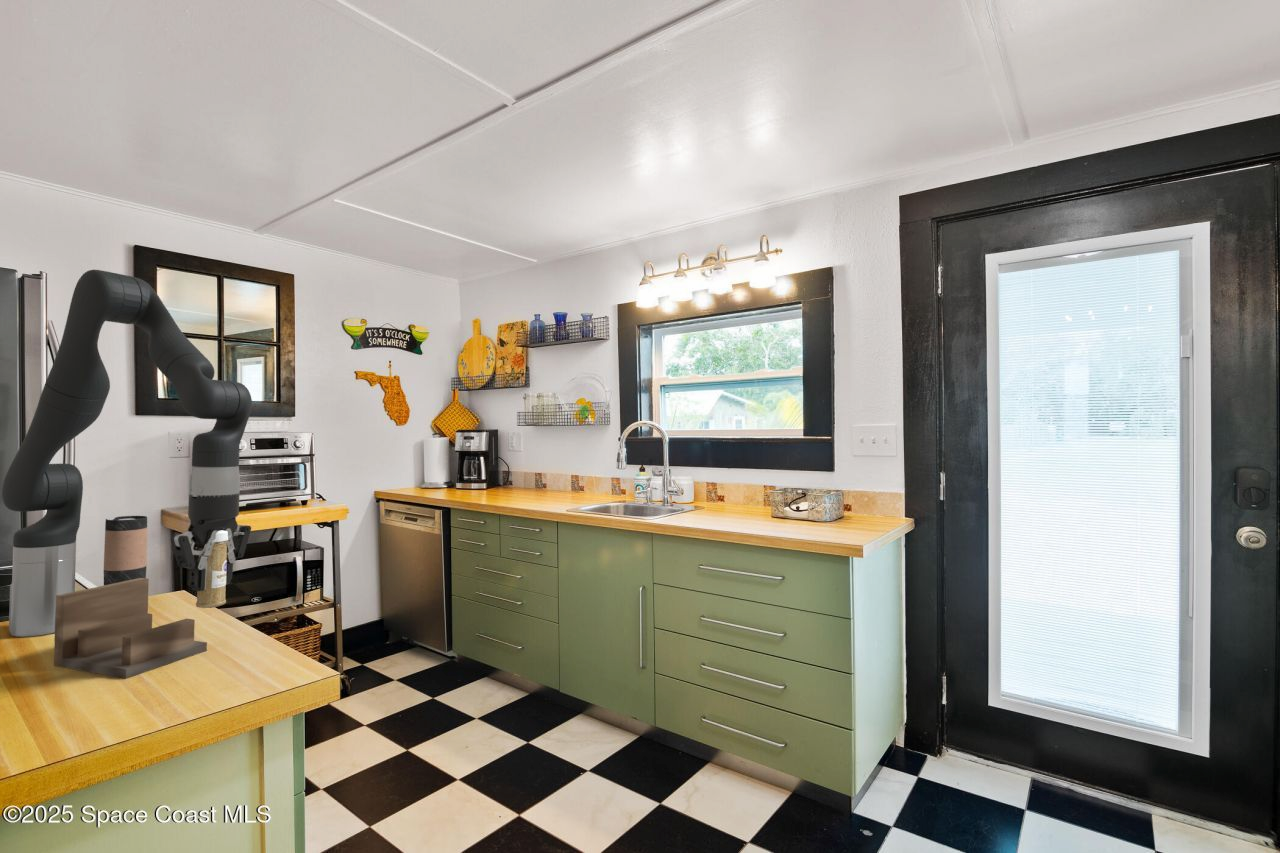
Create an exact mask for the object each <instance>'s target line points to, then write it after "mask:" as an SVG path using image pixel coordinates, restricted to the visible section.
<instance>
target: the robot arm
mask: <svg viewBox="0 0 1280 853" xmlns="http://www.w3.org/2000/svg"><path fill="white" fill-rule="evenodd" d="M157 293H158V292H156V291H155V289H154V288H153V287H152V286H151V285H150V283H148V282H147V281H145V280H143V279H142V278H139V277H135V276H131V275H127V274H122V273H118V272H117V273H115V272H111V271H107V270H106V271H105V270H100V269H91V270H87V271H85V272H84V273H82V275H81V276H80V277H79V279H78V280H77V283H76V285H75V287H74V290H73V293H72V297H71V301H70V305H69V309H68V314H67V318H66V321H65V322H66V323H65V325H64V331H63V334H62V338H61V341H60V344H59V347H58V350H57V352H56V355H55V358H54V361H53V363H52V366H51V368H50V371H49V373H48V376H47V377H46V381H45V383H44V386H43V388H42V391H41V393H40V397H39V400H38V403H37V406H36V409H35V411H34V414H33V418H32V420H31V423H30V425H29V428H28V431H27V433H26V434H25V437H24V439H23V441H22V443H21V444H20V447H19V448H18V451H17V452H16V455H14V458H13V460H12V462H11V463H10V465H9V467H8V470H7V471H6V474H5V477H4V479H3V483H2V488H1V498H2V502H3V505H4V506H5V507H6V508H7V509H8V510H10V511H13V512H23V513H24V512H37V511H38V512H39V511H46V512H45V515H44V516H43V517H42V518H40V519H39V520H38V521H36V522H35V523H32V524H30V525H28V526H25V527H23V528H21V529H17V531H16V532H14V534H13V536H12V538H13V539H12V574H11V576H12V580H11V583H10V584H9V585H10V586H9V616H8V632H9V633H10V636H12V637H20V638H22V637H34V636H35V637H36V636H43V635H44V636H45V635H51V634H53V633H54V634H55V610H56V595H61V594H66V593H70V592H75V591H76V560H77V558H76V557H77V556H76V555H77V554H76V552H77V534H78V531H79V529H80V524H81V511H82V503H83V502H82V501H83V494H84V493H83V491H84V483H83V482H84V481H83V478H82V474H81V471H80V469H79V468H78V467H77V466H76V465H74V464H71V463H51V461H53V460H52V459H54V457H55V455H56V454H57V453H58V451H59V452H60V450H61V449H62V448H63V447H64V446H65V445H67V444H68V443H69V442H70V441H72V440H74V439H75V438H76V437H77V436H78V435H80V434H81V433H83V432H84V431H86V430H87V429H88V428H89V427H90V426H91V425H93V423H95V422H96V421H97V419H98V418H99V417H100V414H101V413H102V411H103V408H104V406H105V403H106V400H107V398H108V395H109V393H110V389H111V383H110V382H111V381H110V377H109V374H108V371H107V369H106V367H105V364H104V362H103V360H102V357H101V354H100V352H99V349H98V348H99V347H98V346H99V345H98V342H99V339H100V332H101V329H102V327H103V325H104V323H105V322H111V323H116V324H117V323H118V324H124V325H125V324H126V325H134V326H136V327H138V328H139V329H140V330H142V331H143V332H145V333H146V334H147V335H148V336H149V338H148V345H147V346H148V348H147V349H148V355H149V357H150V359H151V361H152V363H153V364H154V366H155V367H156V368H157V369H158V370H159V371H160V372H161V373H162V374H163V376H165V377H166V378H167V380H169V381H170V382H171V384H172V386H173V389H174V391H175V393H176V396H177V398H178V401H179V402H180V405H181V407H182V408H183V410H185V412H186V413H188V414H190V415H191V416H192V417H195V418H198V419H200V420H201V419H202V420H216V422H215V424H214V426H213V428H212V429H211V430H210V431H207V432H202V433H199V434H197V435H196V436H194V438H193V440H192V451H191V452H192V453H191V471H190V475H189V482H188V484H189V485H188V487H189V488H188V508H187V509H188V510H187V517H188V519H189V520H190V523H189V526H188V528H187V531H185V532H183V533H181V534H173V535H172V536H171V537H170V540H171V541H170V542H171V544H172V549H173V552H174V556H175V559H176V562H177V566H178V568H186V569H189V584H188V586H189V587H190V589H191V590H192V591H196V592H197V591H202V590H204V589H205V569H203V568H204V567H205V564H206V560H207V558H208V557H209V556H210V555H211V552H212V548H213V544H214V543H213V542H212V541H213V540H215V538H216V533H217V532H218V531H221V530H223V531H227V532H228V540H227V558H226V560H227V571H226V585H229V584H231V580H232V579H233V572H234V571H233V570H234V569H233V568H234V563H235V562H236V560H238V559H240V558H243V557H244V556H245V552H246V549H247V545H248V541H249V538H250V534H251V532H252V526H251V525H244V524H238V522H237V517H238V516H239V513H240V490H241V486H240V485H241V476H240V444H241V440H242V439H243V436H244V433H245V430H246V427H247V424H248V422H249V419H250V417H251V416H250V415H251V411H252V409H253V398H252V395H251V392H250V391H249V389H248V388H247V386H245V384H243V383H241V382H238V381H232V380H231V381H230V380H220V379H214V377H215V368H214V366H213V364H212V363H211V361H210V360H209V359H208V358H207V357H206V356H205V354H203V352H201V351H200V350H199V349H198V348H197V347H196V346H195V345H194V344H193V343H192V342H191V341H190V340H189V339H188V338H187V336H186V335H185V334H184V333H183V332H182V330H181V329H180V327H179V326H178V324H177V323H176V321H175V319H174V318H173V316H172V315H171V313H170V312H169V310H168V309H167V306H165V304H164V303H163V301H162V300H161V298H160V296H159V294H157ZM199 548H202V549H203V550H202V551H199ZM198 558H199V559H198Z"/></svg>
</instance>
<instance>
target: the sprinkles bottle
mask: <svg viewBox="0 0 1280 853" xmlns="http://www.w3.org/2000/svg"><path fill="white" fill-rule="evenodd" d="M227 540H228V532H227V531H223V530H221V531H218V532H217V533H216V538H215V540H213V541H212V542H213V543H214V544H213V548H212V552H211V555H210V556H209V557H208V558H207V560H206V564H205V567H204V568H203V569H205V589H204V590H202V591H196V593H197V594H196V602H195V607H197V608H201V609H212V608H216V607H220V606H223V605H225V604H226V603H227V600H226V591H227V590H226V585H227V584H226V571H227V560H226V558H227ZM202 550H203V549H202V548H199V551H202ZM198 559H199V558H198Z"/></svg>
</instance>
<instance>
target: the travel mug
mask: <svg viewBox="0 0 1280 853" xmlns="http://www.w3.org/2000/svg"><path fill="white" fill-rule="evenodd" d="M104 527H105V528H104V554H103V586H104V585H109V584H114V583H119V582H124V581H128V580H133V579H138V578H146V579H147V565H148V564H147V562H148V561H147V559H148V557H147V556H148V552H147V551H148V517H147V515H146V516H145V515H124V516H123V515H122V516H116V517H114V518H113V519H108V518H105V526H104Z"/></svg>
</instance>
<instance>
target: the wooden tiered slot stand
mask: <svg viewBox="0 0 1280 853" xmlns="http://www.w3.org/2000/svg"><path fill="white" fill-rule="evenodd" d="M53 648H54V649H53V650H54V651H53V652H54V653H53V654H54V655H53V666H54V667H61V668H66V669H70V670H76V671H83V672H88V673H93V674H98V675H105V676H110V677H116V678H121V679H129V678H131V677H135V676H137V675H138V676H139V675H140V674H143V673H145V672H149V671H152V670H154V669H157V668H162V667H163V666H166V665H169V664H172V663H175V662H178V661H181V660H184V659H186V658H190V657H192V656H195V655H198V654H200V653H204V652H206V651H207V650H208V649H207V648H208V642H205V641H199V640H195V619H191V618H184V619H179V620H176V621H173V622H169V623H166V624H163V625H159V626H155V627H153V613H149V578H147V577H146V578H138V579H133V580H128V581H124V582H119V583H114V584H109V585H104V584H103V585H100V586H95V587H90V588H86V589H82V590H81V589H80V590H75V592H70V593H66V594H61V595H56V610H55V633H54V646H53Z"/></svg>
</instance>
